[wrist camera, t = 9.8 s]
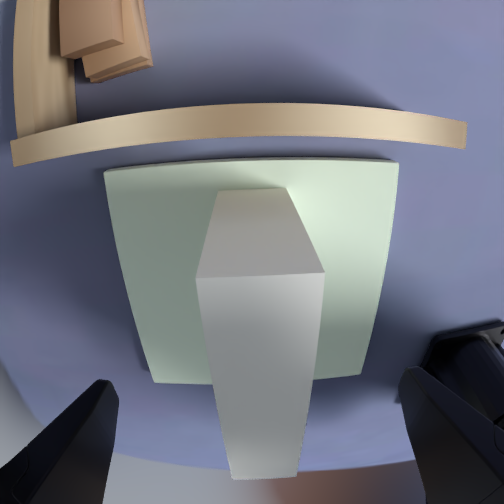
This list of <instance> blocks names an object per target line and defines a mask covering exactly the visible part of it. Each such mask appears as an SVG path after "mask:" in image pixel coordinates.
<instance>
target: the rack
mask: <svg viewBox="0 0 504 504" xmlns="http://www.w3.org/2000/svg"><path fill="white" fill-rule="evenodd" d="M13 83H14V104H15V117H16V128H17V137H18V139H15V140H12V141H10V145H11V152H12V159H13V165H14V167H17V166H21V165H25V164H29V163H34V162H38V161H43V160H48V159H53V158H58V157H63V156H68V155H74V154H79V153H85V152H91V151H97V150H104V149H110V148H117V147H125V146H132V145H141V144H149V143H158V142H168V141H179V140H192V139H206V138H223V137H247V136H328V137H351V138H368V139H382V140H394V141H404V142H414V143H423V144H431V145H439V146H446V147H453V148H460V149H465V147H466V134H467V122H463V121H458V120H453V119H448V118H442V117H437V116H431V115H425V114H418V113H411V112H404V111H397V110H389V109H380V108H370V107H359V106H346V105H331V104H307V103H246V104H223V105H207V106H194V107H183V108H173V109H164V110H156V111H148V112H141V113H134V114H127V115H121V116H115V117H109V118H104V119H98V120H93V121H88V122H83V123H78V122H77V111H76V96H75V76H74V59H72V58H66V57H61V49H60V25H59V0H17V5H16V15H15V27H14V48H13Z"/></svg>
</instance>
